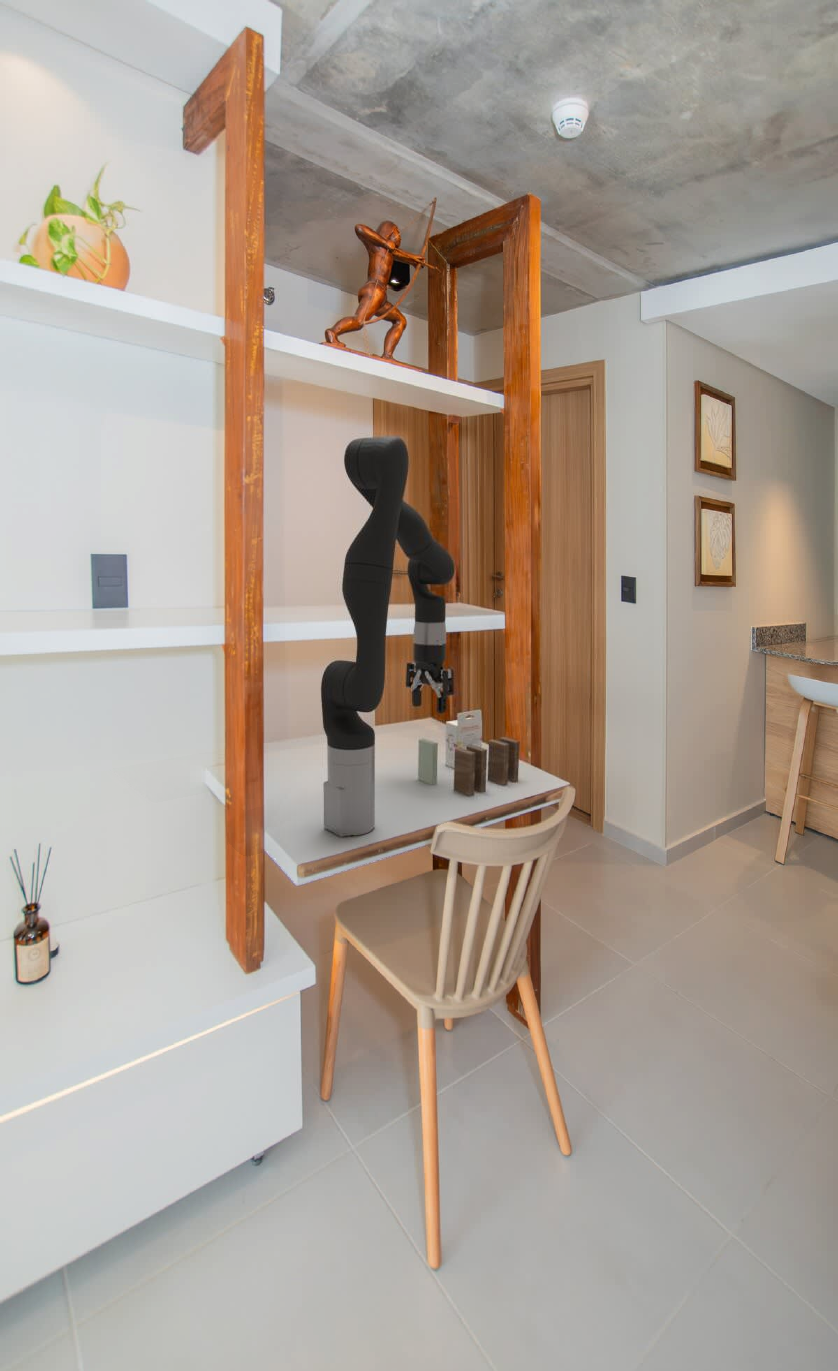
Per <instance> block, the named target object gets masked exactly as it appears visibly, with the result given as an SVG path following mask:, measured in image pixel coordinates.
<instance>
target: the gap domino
mask: <svg viewBox="0 0 838 1371" xmlns="http://www.w3.org/2000/svg"><path fill="white" fill-rule="evenodd" d="M438 745H439V743H438V742H436V741H432V740H429V739H426V738H420V739H418V758H417V760H418V764H417V765H418V767H417V768H418V769H417V775H418V776H417V779H418V781H421V782H424V783H426V784H429V785H436V784H438V750H439V749H438Z"/></svg>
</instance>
